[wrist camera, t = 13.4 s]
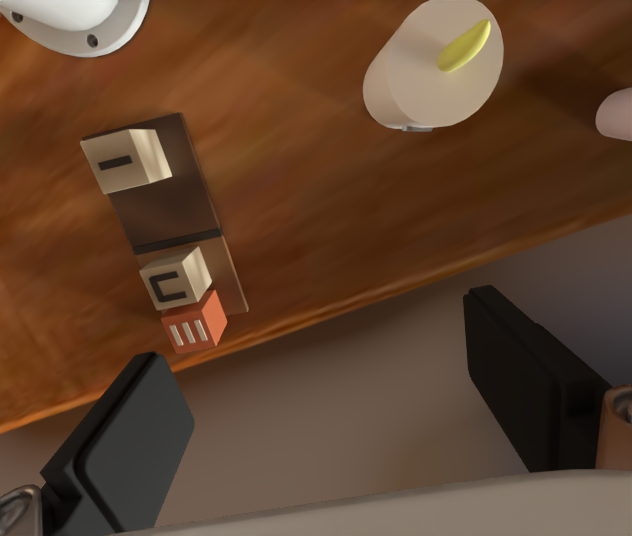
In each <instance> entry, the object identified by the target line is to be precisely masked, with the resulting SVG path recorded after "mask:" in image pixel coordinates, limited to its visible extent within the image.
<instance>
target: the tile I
mask: <svg viewBox="0 0 632 536" xmlns="http://www.w3.org/2000/svg"><path fill="white" fill-rule="evenodd" d="M80 144H81V146H82V149H83V151H84V153H85V155H86V157H87V159H88V162H89V164H90V166H91V168H92V170H93V173H94V175H95V177H96V179H97V181H98V183H99V186H100V188H101V190H102V192H103V194H107V193H112V192H116V191H120V190H124V189H128V188H132V187H136V186H141V185H145V184H149V183H152V182H156V181H159V180H162V179H165V178H168V177H172V173H171V171H170V168H169V166H168V163H167V160H166V158H165V155H164V152H163V150H162V147H161V144H160V142H159V139H158V136H157V134H156V131H155V130H153V129H127V130H123V131H119V132H115V133H112V134H108V135H104V136H100V137H96V138H92V139H88V140H84V141H81V142H80Z"/></svg>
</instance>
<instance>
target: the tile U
mask: <svg viewBox="0 0 632 536" xmlns="http://www.w3.org/2000/svg"><path fill="white" fill-rule="evenodd" d="M139 272H140V275H141V277H142V279H143V281H144V283H145V285H146V288H147V290H148V292H149V294H150V296H151V299H152V301H153V303H154V305H155V307H156V309H157V310H162V309H166V308H171V307H176V306H181V305H186V304H190V303H195V302H198V301H199V300H200V299H201V297H202V296H203V294H204V293H205V291H206V290H207V288H208V287H209V286H210V284H211V283H212V280H211V278H210V275H209V272H208V270H207V267H206V264H205V262H204V259H203V256H202V254H201V251H200V248H199V246H195V247H190V248H186V249H181V250H177V251H172V252H168V253H163V254H160V255H159V256H158V257H156V258H155V259H154V260H153V261H151V262H150V263H149V264H147V265H146V266H145V267H144V268H142V269H141V270H140V271H139Z"/></svg>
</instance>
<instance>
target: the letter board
mask: <svg viewBox="0 0 632 536" xmlns="http://www.w3.org/2000/svg"><path fill="white" fill-rule="evenodd" d="M127 129H153V130H155V131H156V134H157V136H158V139H159V142H160V144H161V147H162V150H163V152H164V155H165V158H166V160H167V163H168V166H169V168H170V171H171V173H172V177H168V178H165V179H162V180H159V181H156V182H152V183H149V184H145V185H141V186H136V187H132V188H128V189H124V190H120V191H116V192H112V193H107V195H108V197H109V199H110V201H111V203H112V206H113V208H114V210H115V212H116V214H117V216H118V219H119V221H120V223H121V225H122V227H123V230H124V232H125V234H126V236H127V238H128V241H129V243H130V245H131V247H132V250H133V252H134V254H135V255H136V258H137V260H138V263H139V265H140V267H141V269H142V268H144V267H145V266H146V265H147V264H149V263H150V262H151V261H153V260H154V259H155V258H156V257H158V256H159V255H160V254H163V253H168V252H172V251H177V250H181V249H186V248H190V247H195V246H199V248H200V251H201V254H202V256H203V259H204V262H205V264H206V267H207V270H208V272H209V275H210V278H211V280H212V283H211V284H210V286H209V287H208V288H207V290H206V291H209V290H214V289H215V290H216V293H217V296H218V298H219V301H220V304H221V306H222V309H223V312H224V314H225V316H228V315H233V314H238V313H243V312H247V311H248V310H249V308H248V305H247V302H246V299H245V296H244V293H243V290H242V288H241V285H240V282H239V279H238V276H237V273H236V270H235V267H234V264H233V261H232V258H231V255H230V253H229V250H228V247H227V244H226V241H225V238H224V235H223V232H222V229H221V227H220V223H219V220H218V217H217V215H216V212H215V209H214V206H213V203H212V200H211V197H210V194H209V191H208V188H207V185H206V182H205V179H204V177H203V174H202V171H201V168H200V165H199V162H198V159H197V156H196V153H195V150H194V147H193V144H192V141H191V139H190V136H189V133H188V130H187V127H186V124H185V121H184V118H183V115H182V113H175V114H171V115H167V116H163V117H159V118H155V119H152V120H148V121H144V122H140V123H136V124H132V125H128V126H125V127H121V128H117V129H113V130H109V131H105V132H101V133H97V134H94V135H90V136H86V137H82V140H83V141H84V140H88V139H92V138H96V137H100V136H104V135H108V134H112V133H115V132H119V131H123V130H127ZM168 309H169V308H166V309H162V310H160V311H161V313H162V315H164V314H165V313H166V311H167V310H168Z"/></svg>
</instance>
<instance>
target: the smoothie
mask: <svg viewBox="0 0 632 536" xmlns="http://www.w3.org/2000/svg"><path fill="white" fill-rule="evenodd" d="M596 126H597V129H598V131H599V132H600V133H601V134H603V135H604V136H608V137H613V138H618V139H624V140H629V141H632V87H630V88H626V89H623V90H619V91H617V92H614V93H613V94H611V95H610V96H608V97H607V98H606V99H605V100H604V101H603V102H602V104H601V105H600V107H599V109H598V111H597V114H596Z"/></svg>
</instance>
